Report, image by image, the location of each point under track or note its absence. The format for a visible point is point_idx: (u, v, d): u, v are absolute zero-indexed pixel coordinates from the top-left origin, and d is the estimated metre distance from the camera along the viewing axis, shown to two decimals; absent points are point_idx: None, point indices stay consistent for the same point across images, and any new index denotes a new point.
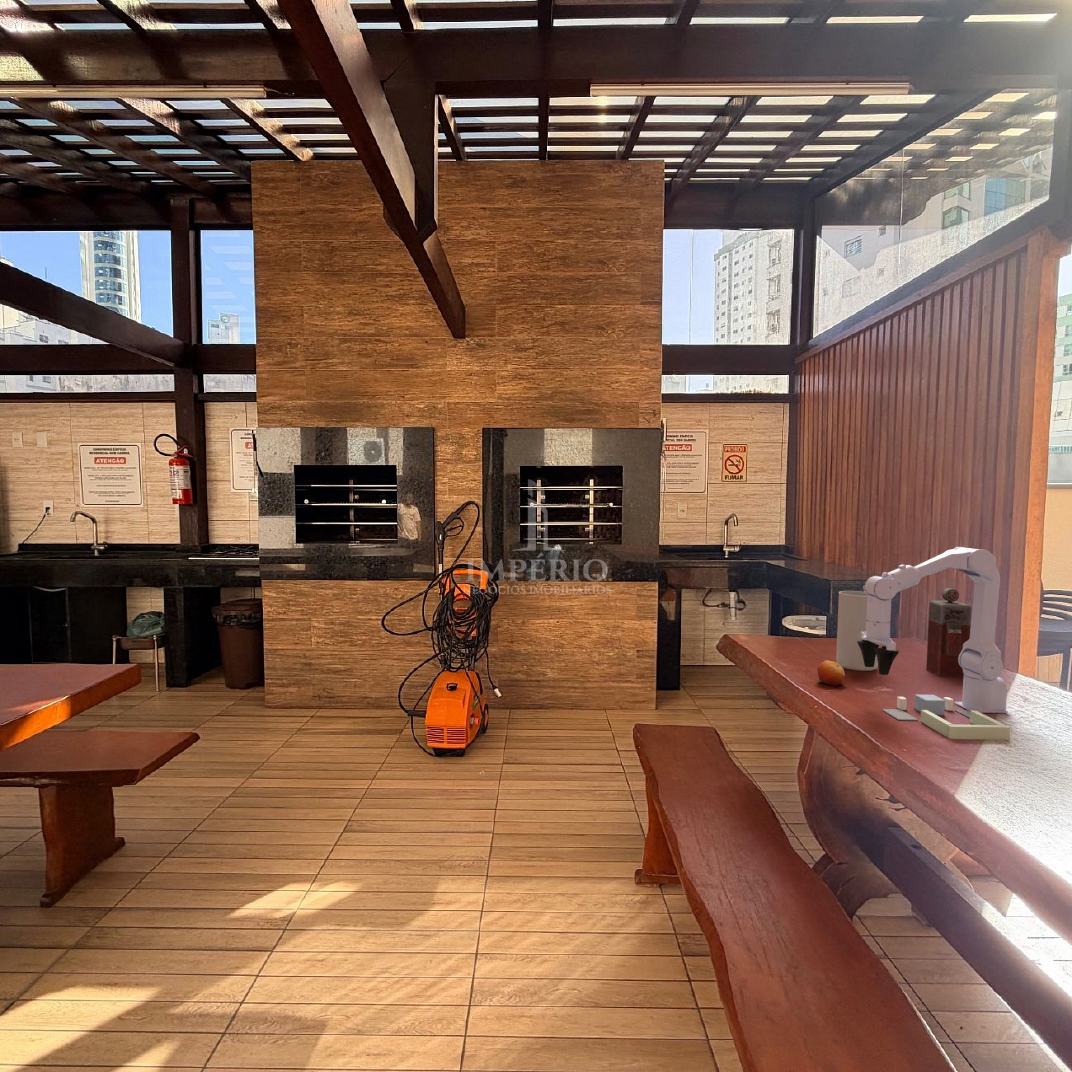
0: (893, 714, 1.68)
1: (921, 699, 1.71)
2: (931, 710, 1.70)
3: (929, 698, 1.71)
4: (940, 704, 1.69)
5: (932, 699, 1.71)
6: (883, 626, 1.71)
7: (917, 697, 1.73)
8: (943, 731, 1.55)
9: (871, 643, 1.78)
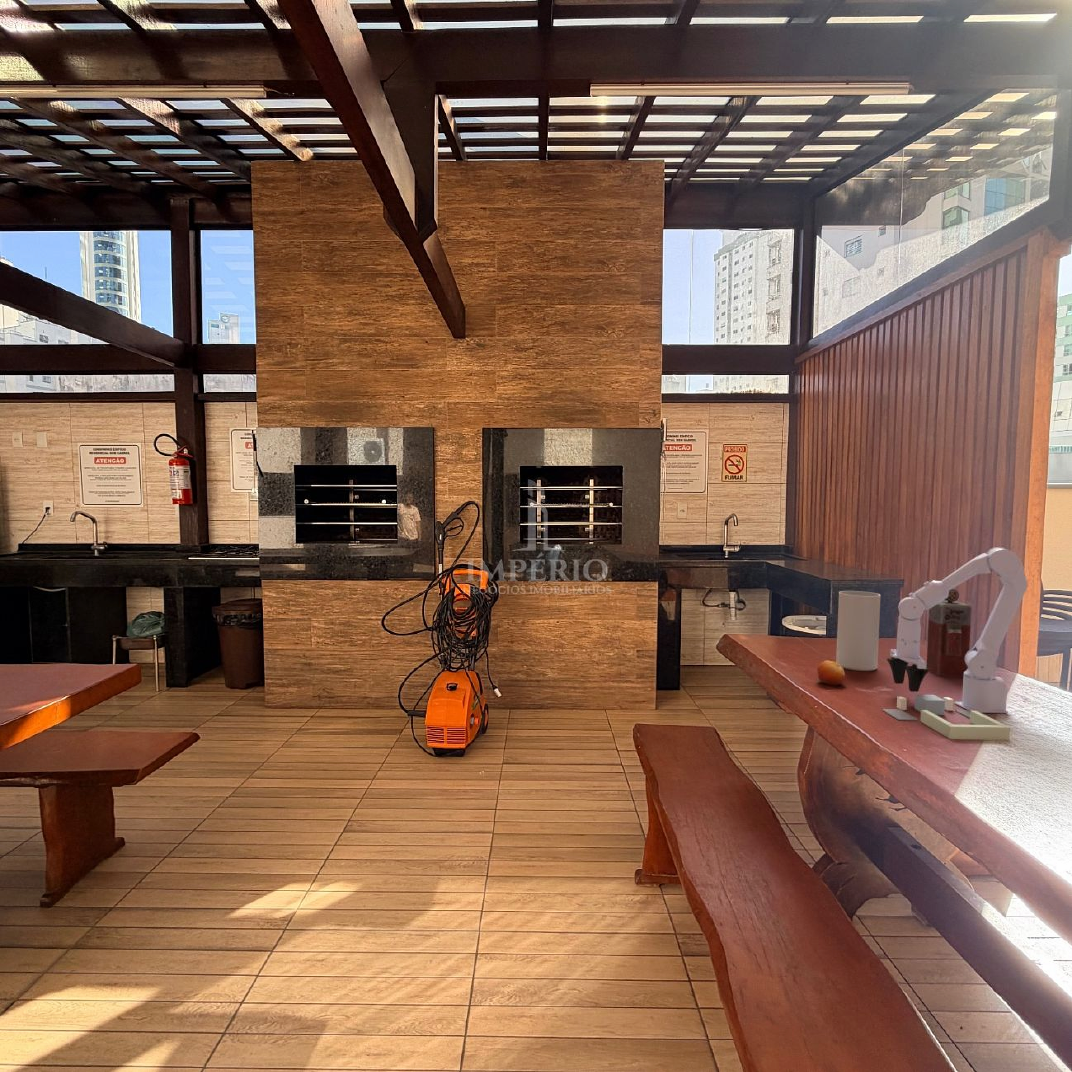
0: (893, 714, 1.68)
1: (921, 699, 1.71)
2: (931, 710, 1.70)
3: (929, 698, 1.71)
4: (940, 704, 1.69)
5: (932, 699, 1.71)
6: (914, 645, 1.79)
7: (917, 697, 1.73)
8: (943, 731, 1.55)
9: (901, 660, 1.86)
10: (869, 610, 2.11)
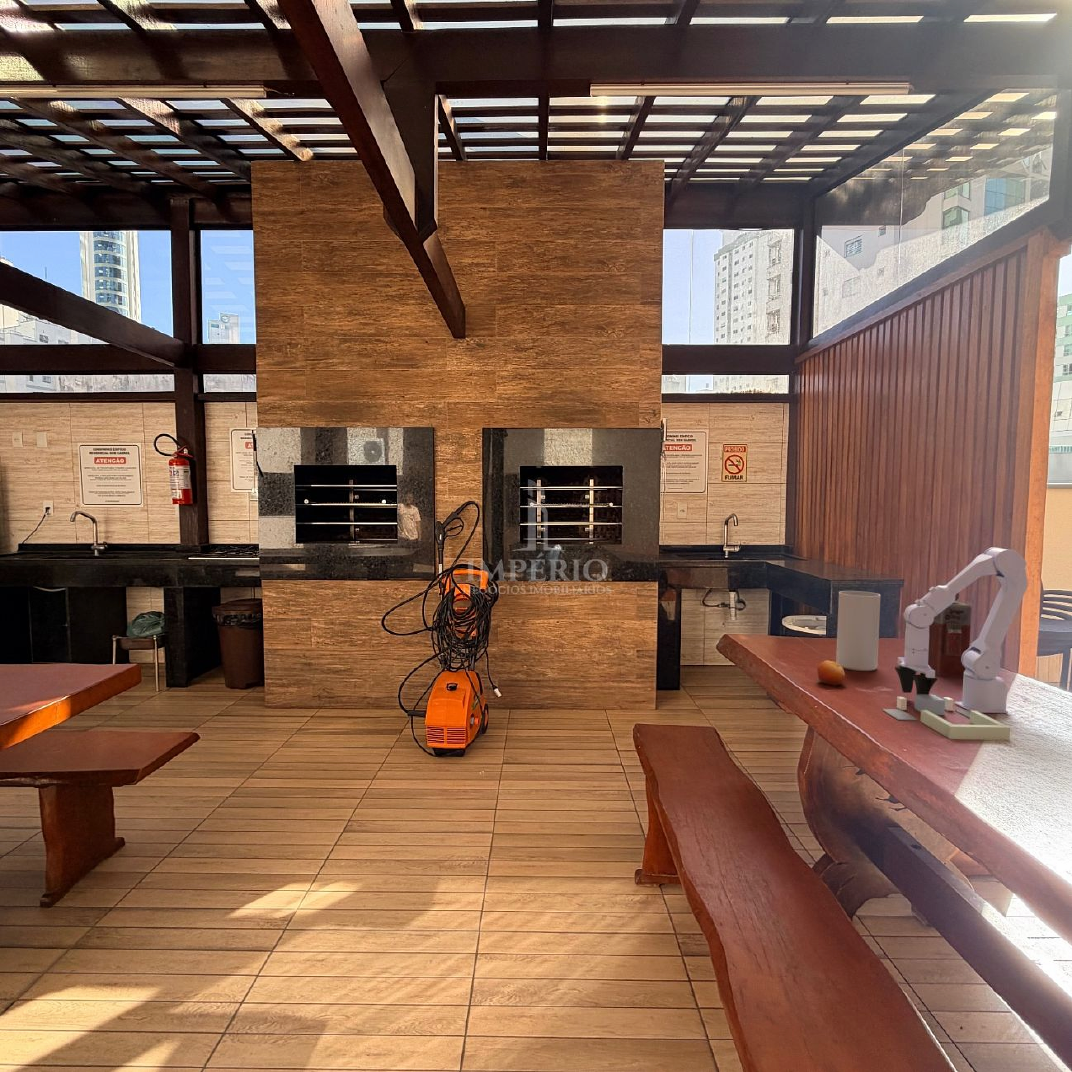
0: (893, 714, 1.68)
1: (922, 699, 1.71)
2: (931, 710, 1.70)
3: (929, 698, 1.71)
4: (940, 704, 1.69)
5: (933, 698, 1.71)
6: (922, 653, 1.75)
7: (917, 697, 1.73)
8: (943, 731, 1.55)
9: (909, 669, 1.82)
10: (869, 610, 2.11)
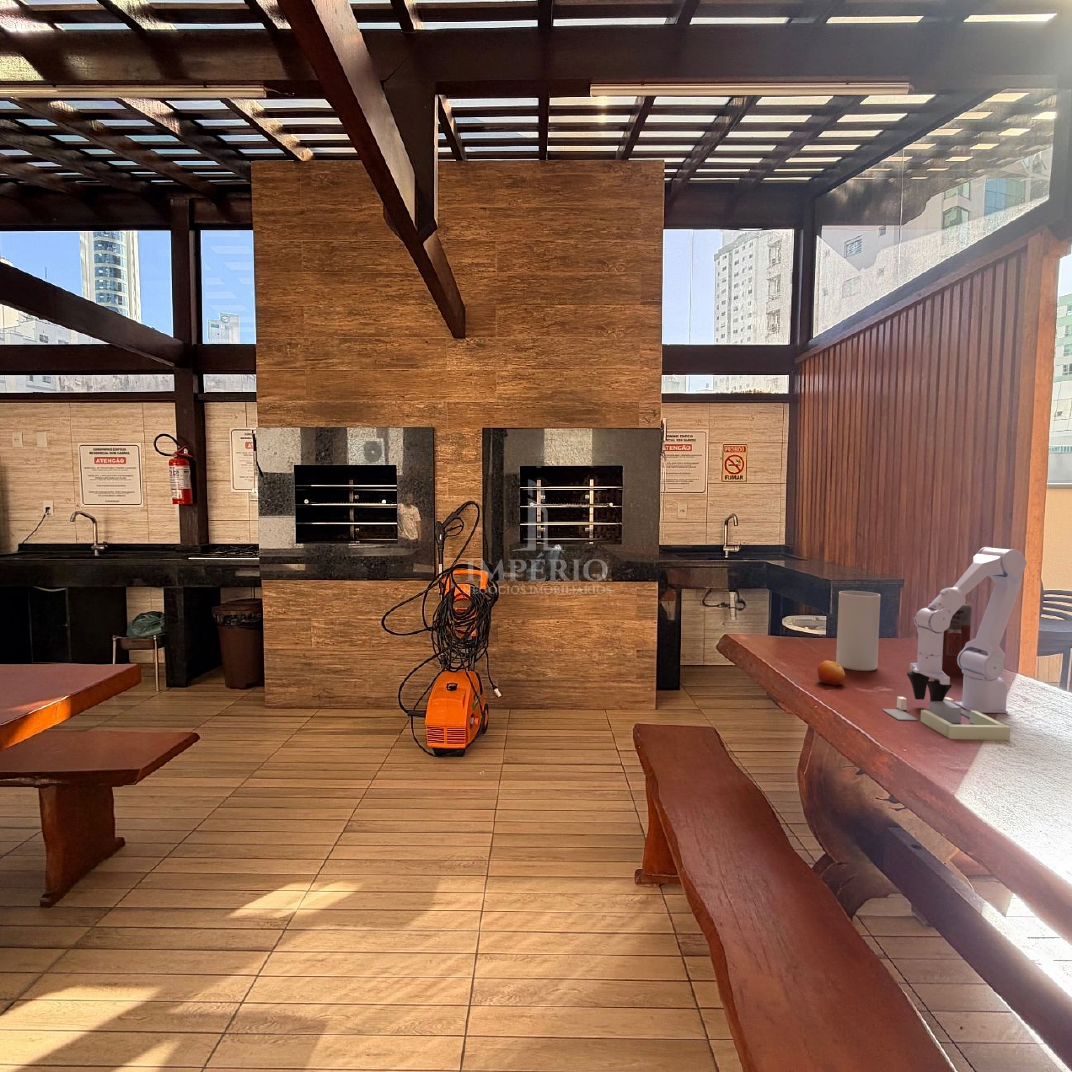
0: (893, 714, 1.68)
1: (937, 706, 1.65)
2: (947, 718, 1.63)
3: (945, 705, 1.65)
4: (956, 711, 1.63)
5: (948, 706, 1.64)
6: (936, 659, 1.69)
7: (932, 704, 1.67)
8: (943, 731, 1.55)
9: (922, 675, 1.76)
10: (869, 610, 2.11)
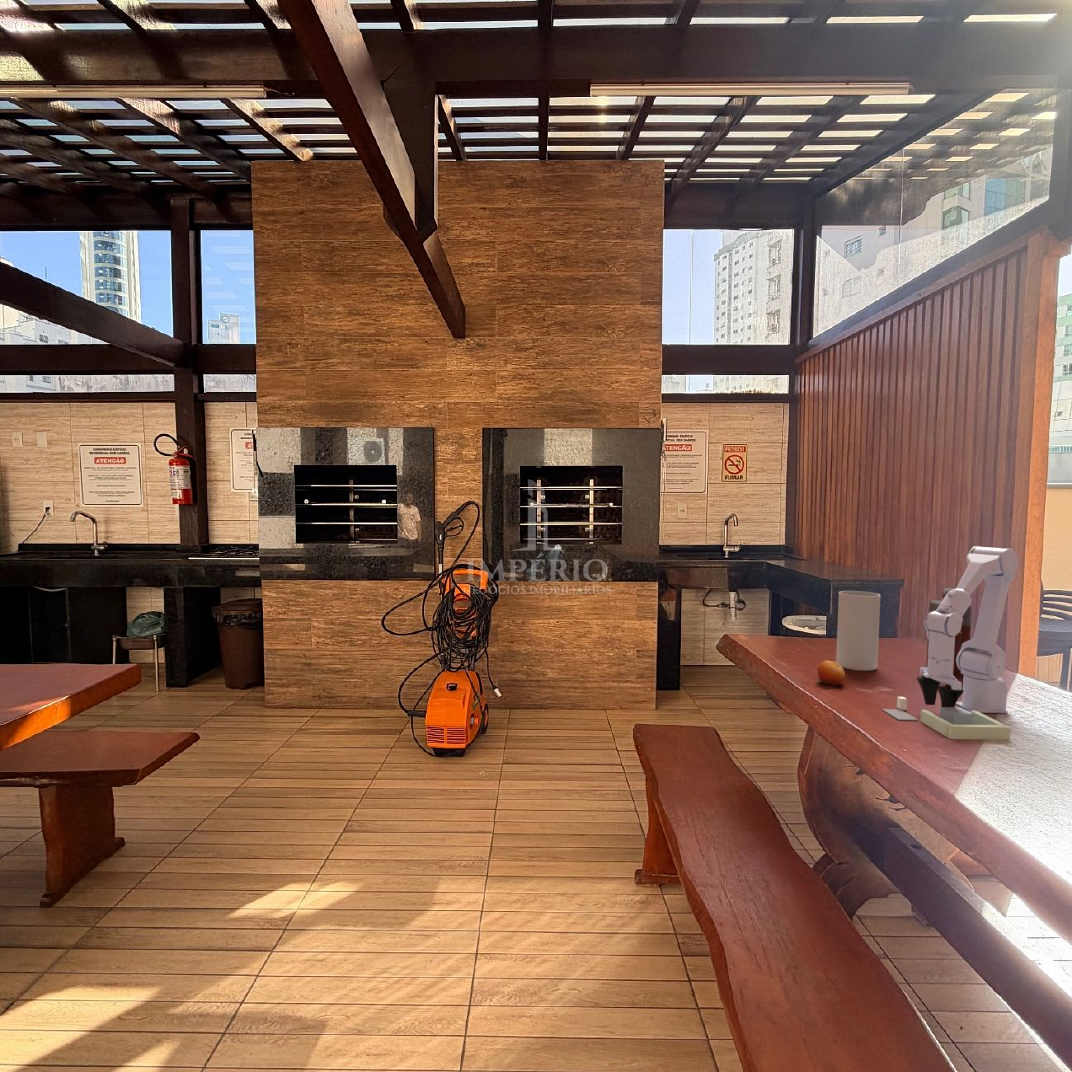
0: (893, 714, 1.68)
1: (948, 712, 1.60)
2: (959, 724, 1.59)
3: (956, 711, 1.60)
4: (968, 718, 1.58)
5: (960, 712, 1.60)
6: (947, 663, 1.65)
7: (943, 710, 1.62)
8: (943, 731, 1.55)
9: (932, 680, 1.71)
10: (869, 610, 2.11)
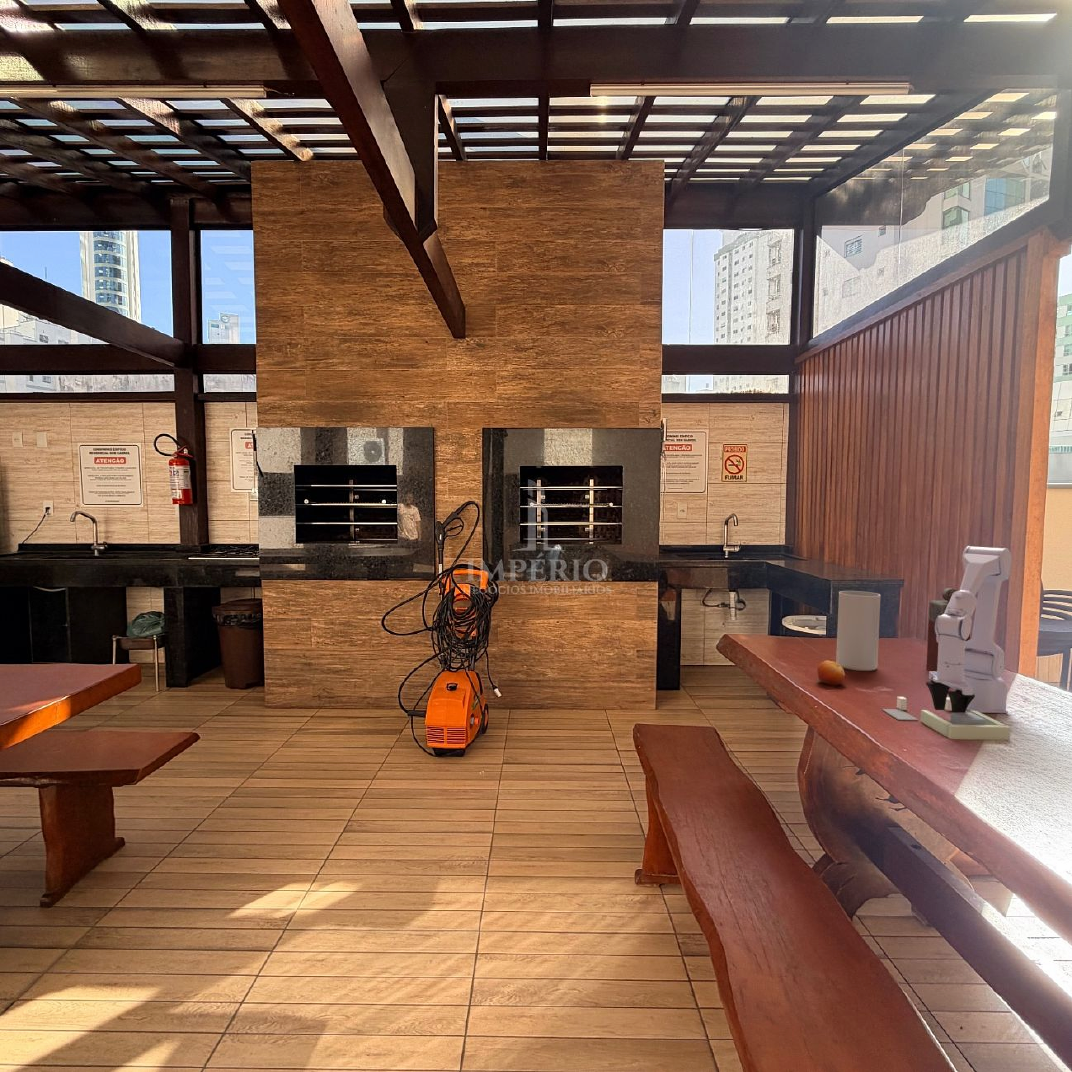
0: (893, 714, 1.68)
1: (960, 718, 1.56)
2: None
3: (968, 717, 1.56)
4: (980, 723, 1.54)
5: (972, 717, 1.55)
6: (958, 667, 1.60)
7: (954, 716, 1.58)
8: (943, 731, 1.55)
9: (942, 684, 1.67)
10: (869, 610, 2.11)
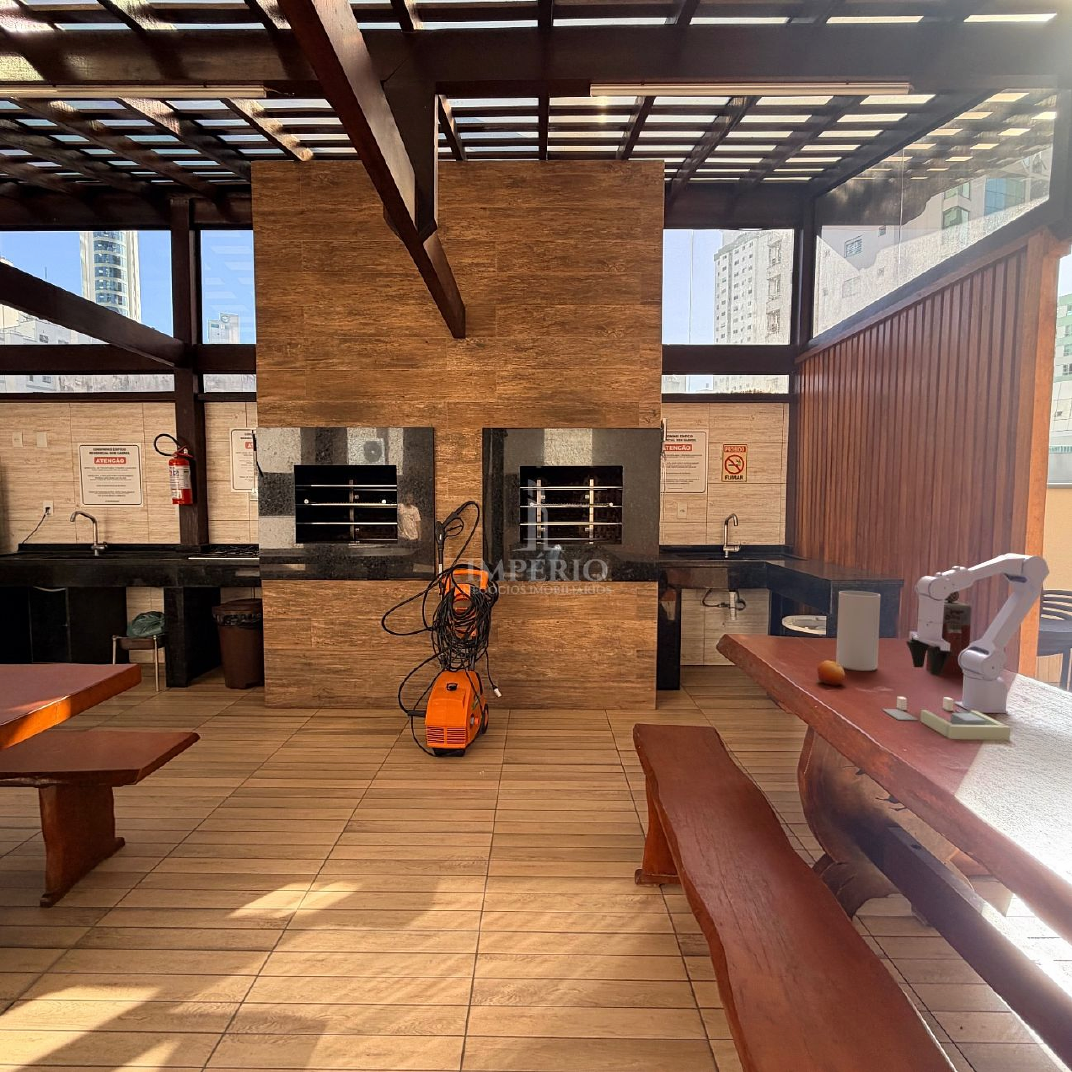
0: (893, 714, 1.68)
1: (960, 719, 1.56)
2: None
3: (968, 718, 1.56)
4: (980, 724, 1.54)
5: (972, 718, 1.55)
6: (936, 626, 1.70)
7: (954, 716, 1.58)
8: (943, 731, 1.55)
9: (921, 643, 1.77)
10: (869, 610, 2.11)
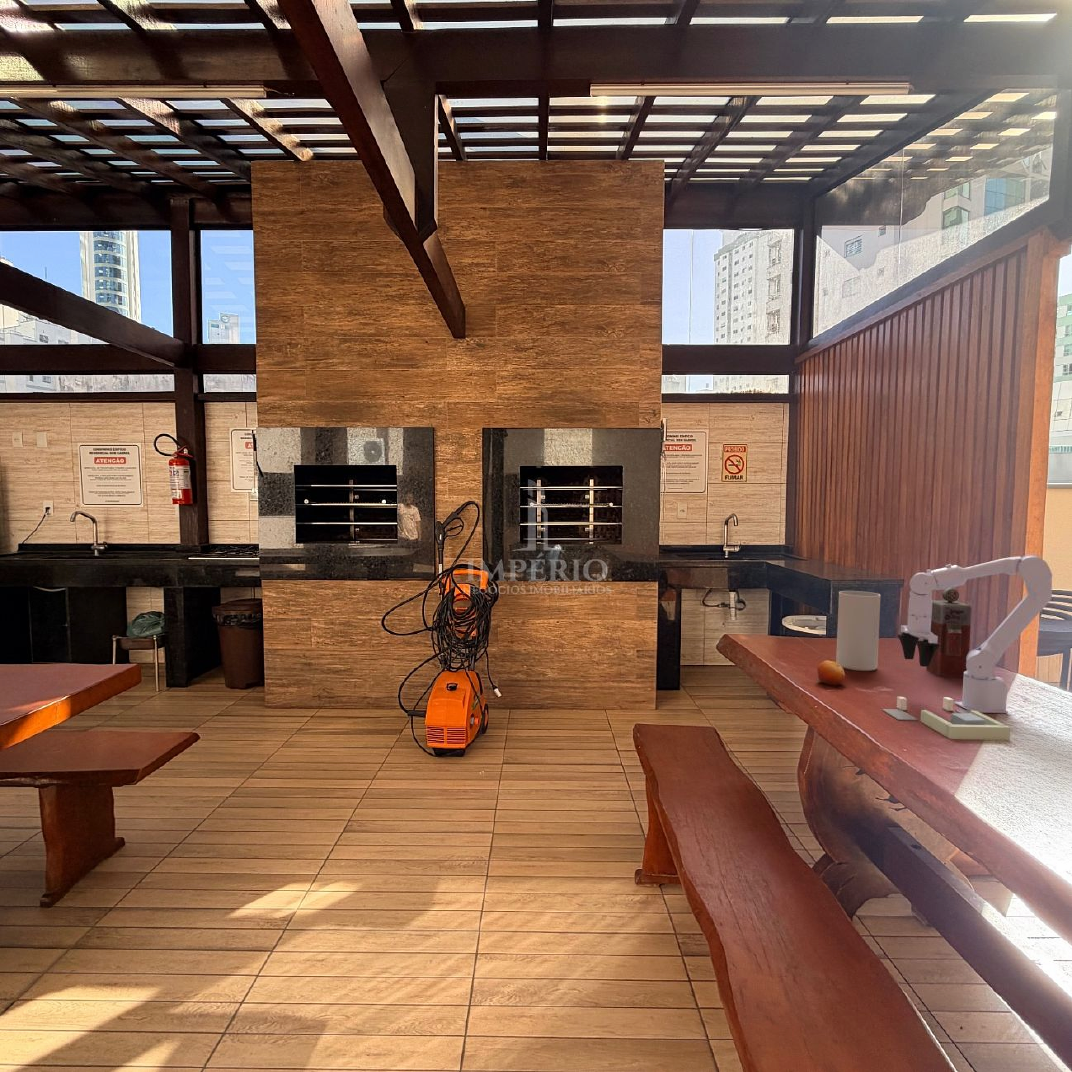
0: (893, 714, 1.68)
1: (960, 719, 1.56)
2: None
3: (968, 718, 1.56)
4: (980, 724, 1.54)
5: (972, 718, 1.55)
6: (925, 620, 1.79)
7: (954, 716, 1.58)
8: (943, 731, 1.55)
9: (911, 636, 1.86)
10: (869, 610, 2.11)
